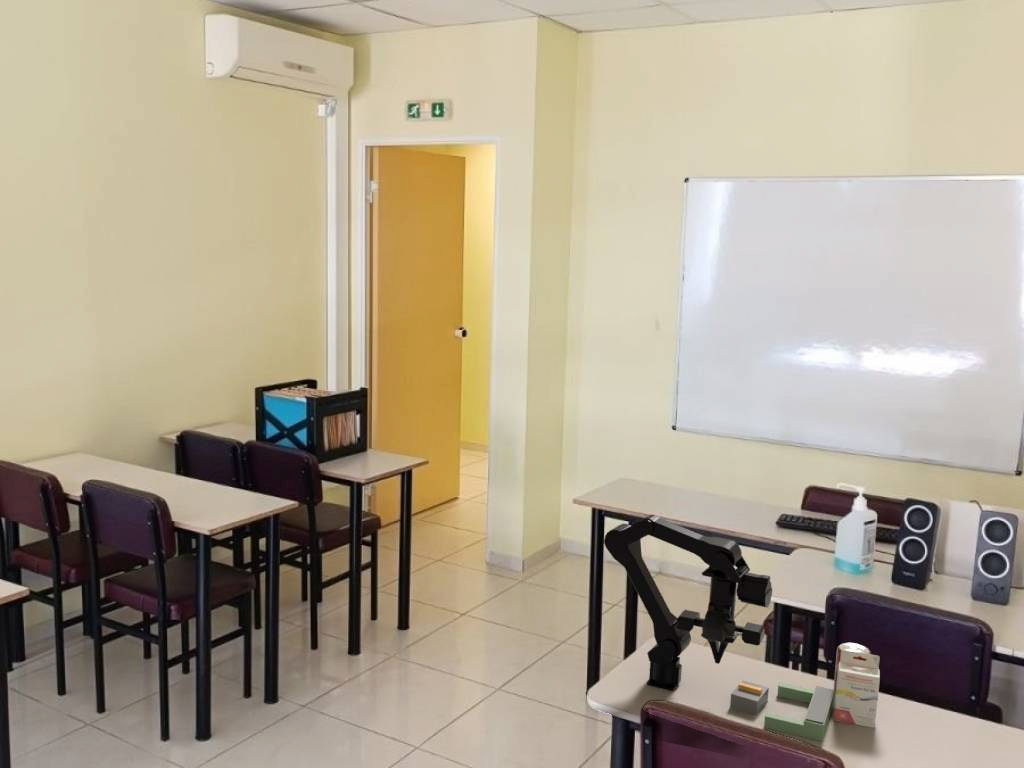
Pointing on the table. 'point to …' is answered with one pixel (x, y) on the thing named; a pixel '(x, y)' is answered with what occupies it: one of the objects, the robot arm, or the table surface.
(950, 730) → the table surface
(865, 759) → the table surface
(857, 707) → the ink cartridge box
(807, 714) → the green grey u-shaped block
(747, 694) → the grey block orange top
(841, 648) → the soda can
